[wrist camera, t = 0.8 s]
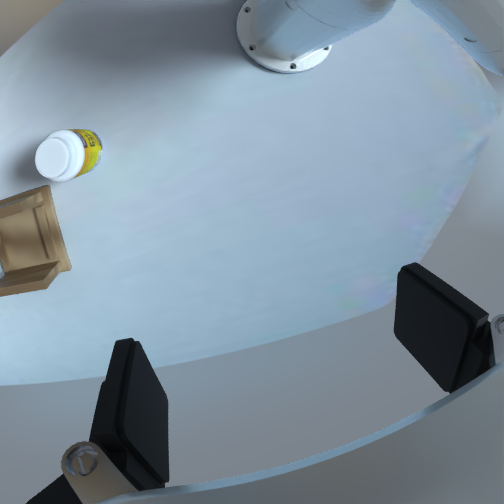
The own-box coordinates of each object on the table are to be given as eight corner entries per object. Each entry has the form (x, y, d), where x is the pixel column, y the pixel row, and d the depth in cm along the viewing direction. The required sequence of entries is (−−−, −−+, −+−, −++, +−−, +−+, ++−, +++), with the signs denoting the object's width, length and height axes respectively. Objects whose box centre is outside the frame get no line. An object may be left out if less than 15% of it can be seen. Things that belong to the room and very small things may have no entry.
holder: (-13, 205, 32) (-39, 218, 26) (49, 184, 34) (25, 195, 27) (11, 279, 37) (-10, 301, 31) (71, 267, 39) (54, 291, 32)
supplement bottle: (112, 142, 34) (85, 147, 25) (90, 180, 35) (59, 197, 26) (78, 121, 32) (44, 120, 23) (58, 159, 33) (20, 170, 24)
